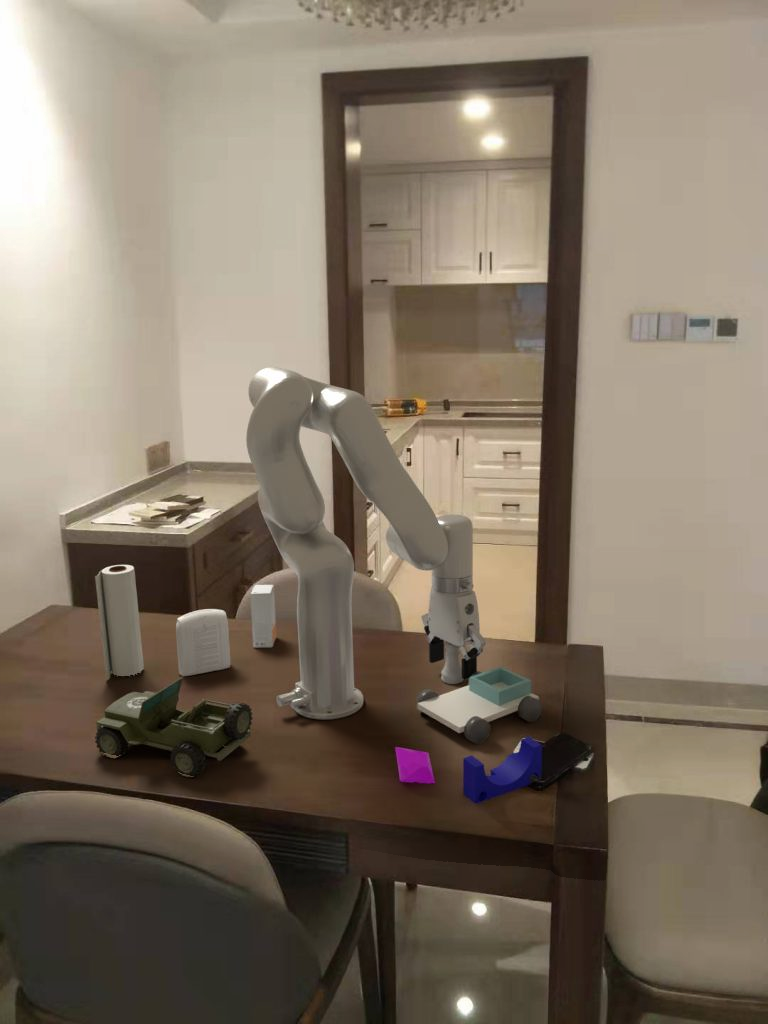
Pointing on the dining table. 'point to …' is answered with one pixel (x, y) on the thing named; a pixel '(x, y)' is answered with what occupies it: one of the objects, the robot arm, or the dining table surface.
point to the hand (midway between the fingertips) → (452, 668)
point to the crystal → (414, 766)
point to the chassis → (482, 702)
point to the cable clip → (502, 773)
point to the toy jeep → (174, 727)
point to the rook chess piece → (452, 665)
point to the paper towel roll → (119, 620)
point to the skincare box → (263, 616)
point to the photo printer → (202, 642)
